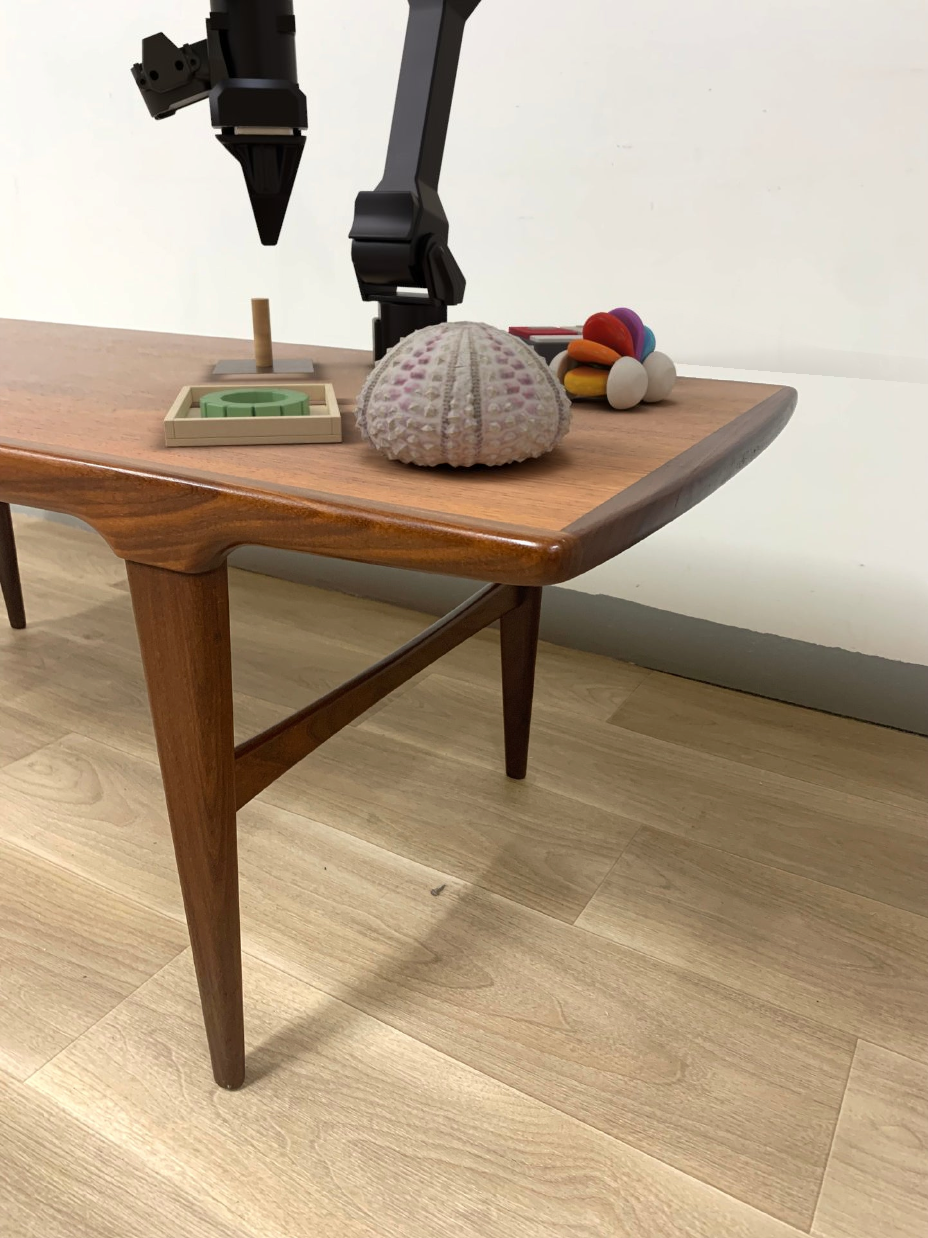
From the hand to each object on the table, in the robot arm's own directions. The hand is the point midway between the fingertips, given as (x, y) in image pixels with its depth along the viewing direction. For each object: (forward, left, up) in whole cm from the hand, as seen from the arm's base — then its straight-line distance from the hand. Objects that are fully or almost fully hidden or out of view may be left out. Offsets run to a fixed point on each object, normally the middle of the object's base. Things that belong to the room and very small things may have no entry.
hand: (269, 242), depth 73 cm
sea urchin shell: (-12, +21, -12) cm, 27 cm away
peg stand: (+1, -14, -12) cm, 18 cm away
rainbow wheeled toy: (-27, +4, -12) cm, 29 cm away
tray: (+1, +10, -12) cm, 16 cm away
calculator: (-28, -11, -12) cm, 32 cm away
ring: (+2, +10, -11) cm, 15 cm away
